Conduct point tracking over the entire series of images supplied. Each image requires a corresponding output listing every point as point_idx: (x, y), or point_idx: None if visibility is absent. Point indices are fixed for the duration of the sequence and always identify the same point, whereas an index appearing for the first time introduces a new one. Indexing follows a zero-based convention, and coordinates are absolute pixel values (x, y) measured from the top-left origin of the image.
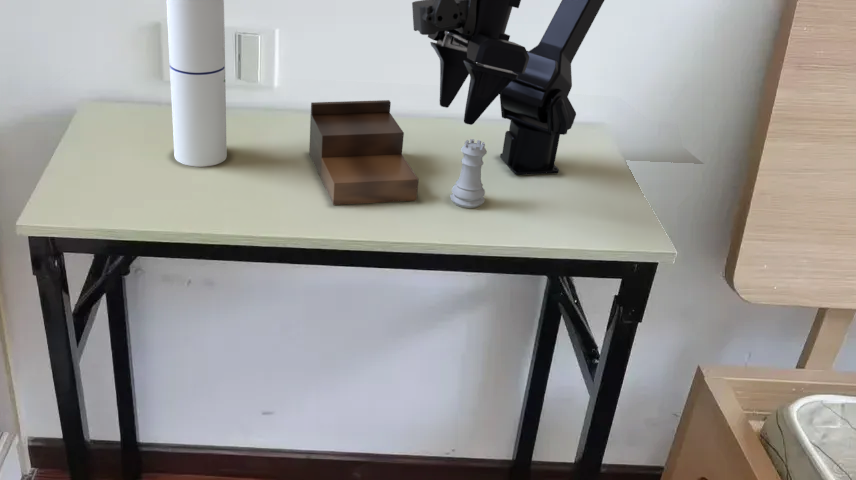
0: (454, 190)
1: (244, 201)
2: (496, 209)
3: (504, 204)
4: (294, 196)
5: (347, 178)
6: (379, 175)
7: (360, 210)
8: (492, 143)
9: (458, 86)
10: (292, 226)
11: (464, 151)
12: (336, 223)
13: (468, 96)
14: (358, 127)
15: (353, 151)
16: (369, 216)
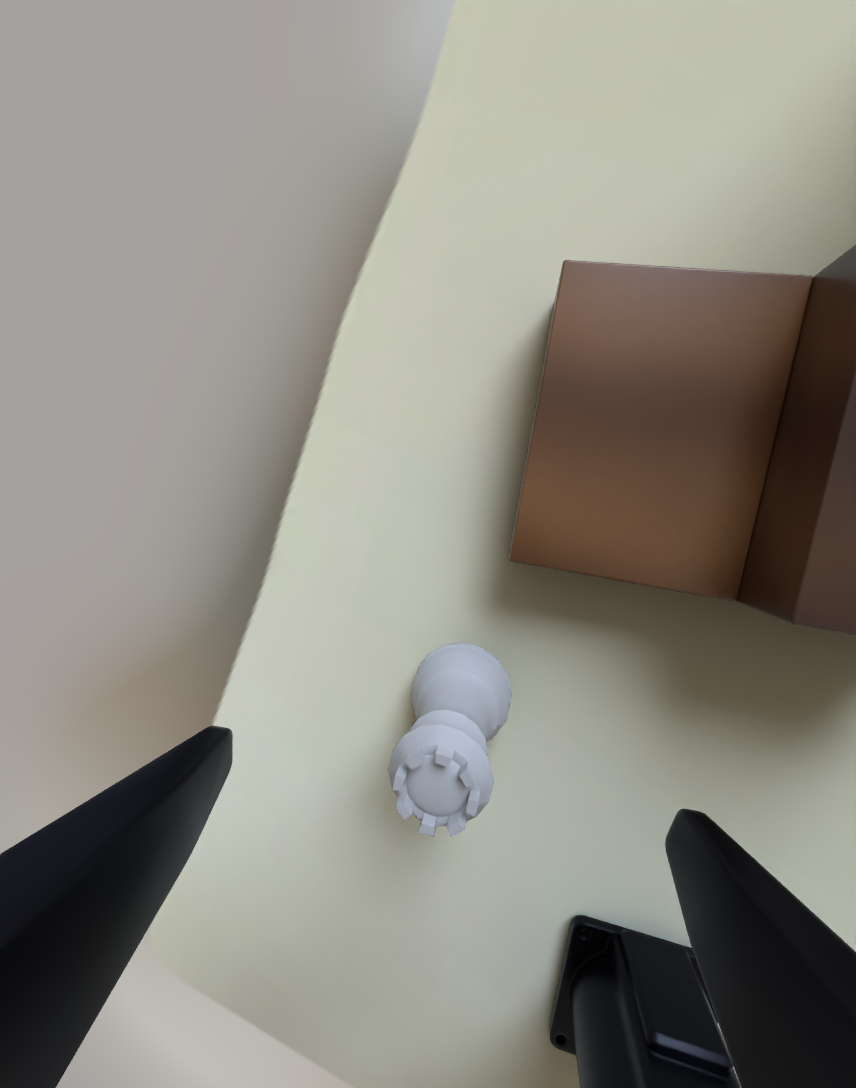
0: (459, 656)
1: (670, 13)
2: (401, 735)
3: None
4: (654, 192)
5: (588, 319)
6: (577, 442)
7: (500, 371)
8: None
9: (745, 1062)
10: (462, 142)
11: (431, 730)
12: (444, 276)
13: (64, 856)
14: None
15: (796, 404)
16: (458, 383)
